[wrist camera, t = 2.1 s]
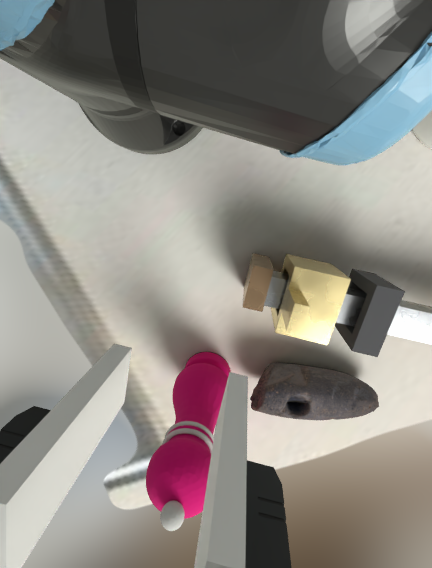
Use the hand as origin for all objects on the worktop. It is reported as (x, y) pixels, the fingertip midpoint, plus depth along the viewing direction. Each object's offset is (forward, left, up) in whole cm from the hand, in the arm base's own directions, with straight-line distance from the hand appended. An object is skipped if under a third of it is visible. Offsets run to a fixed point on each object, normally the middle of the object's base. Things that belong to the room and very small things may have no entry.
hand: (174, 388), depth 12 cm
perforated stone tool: (+12, +14, -25) cm, 31 cm away
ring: (0, +15, -22) cm, 27 cm away
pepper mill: (+15, +1, -25) cm, 29 cm away
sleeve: (0, +9, -22) cm, 24 cm away
